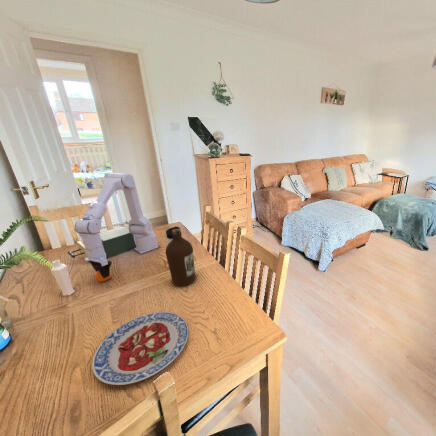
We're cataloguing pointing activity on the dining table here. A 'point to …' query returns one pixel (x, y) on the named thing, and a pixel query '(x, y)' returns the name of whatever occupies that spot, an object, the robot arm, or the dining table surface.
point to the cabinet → (117, 241)
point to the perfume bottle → (62, 277)
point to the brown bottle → (180, 260)
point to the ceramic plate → (140, 348)
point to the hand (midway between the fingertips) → (102, 273)
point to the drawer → (81, 250)
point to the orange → (100, 278)
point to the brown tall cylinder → (170, 234)
